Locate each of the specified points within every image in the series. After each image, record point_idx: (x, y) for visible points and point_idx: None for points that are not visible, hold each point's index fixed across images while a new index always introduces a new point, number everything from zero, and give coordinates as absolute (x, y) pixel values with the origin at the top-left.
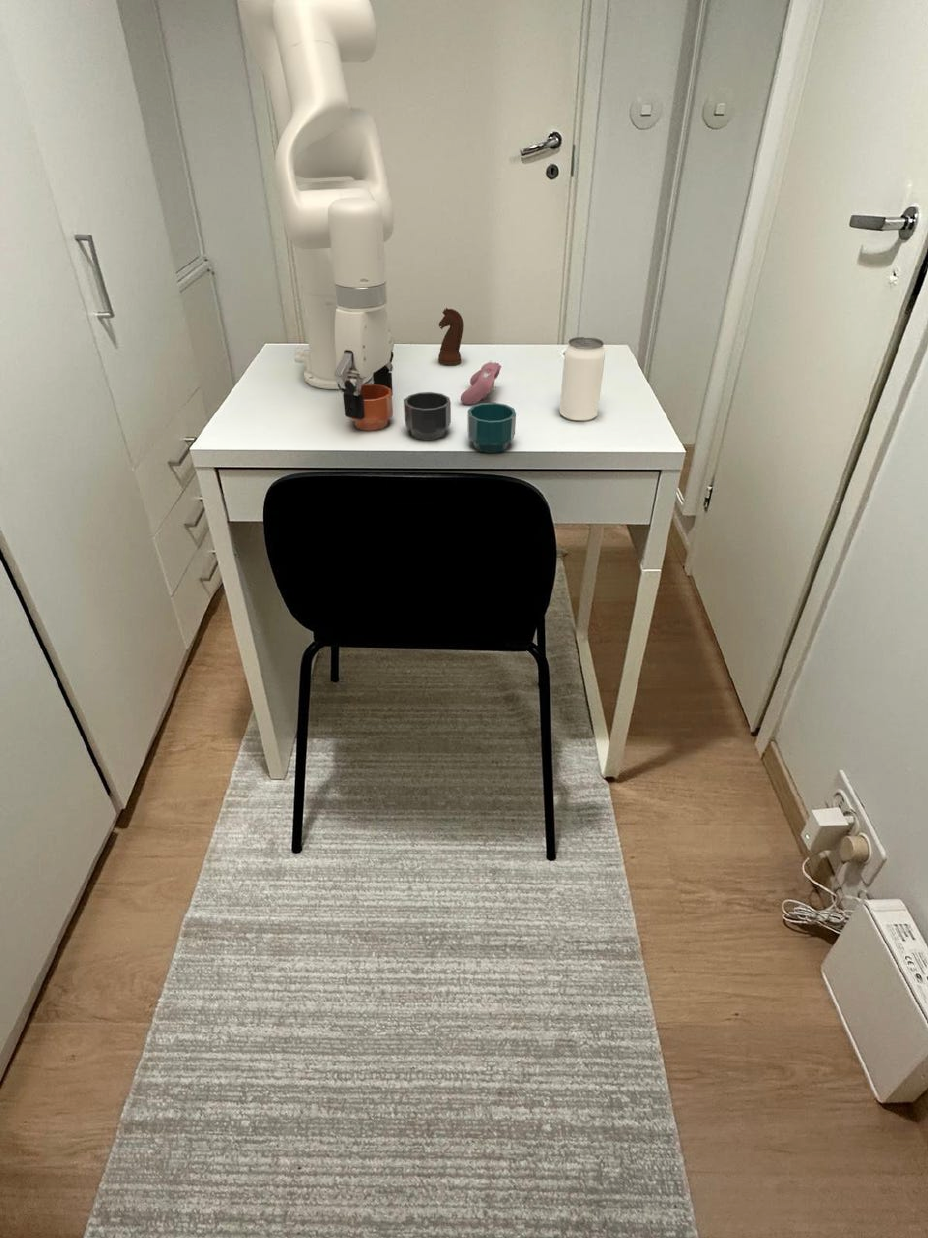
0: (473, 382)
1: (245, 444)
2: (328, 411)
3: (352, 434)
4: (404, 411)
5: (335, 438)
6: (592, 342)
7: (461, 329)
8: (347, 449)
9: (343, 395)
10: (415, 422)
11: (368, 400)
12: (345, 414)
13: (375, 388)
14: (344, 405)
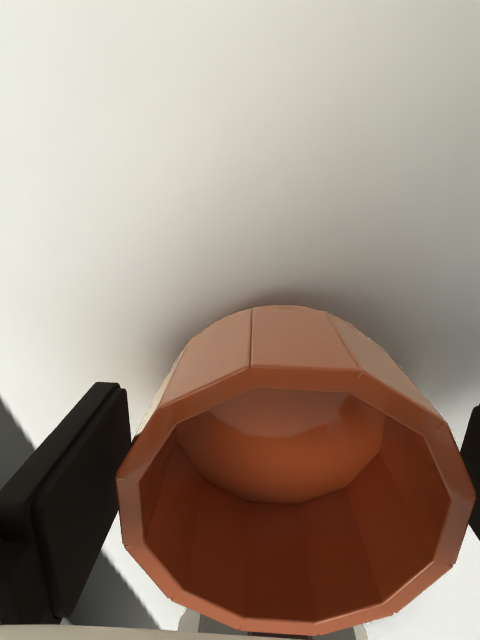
0: None
1: None
2: (361, 87)
3: (140, 359)
4: (233, 632)
5: (67, 309)
6: None
7: None
8: (10, 401)
9: (14, 476)
10: None
11: (143, 568)
12: (93, 385)
13: (430, 490)
14: (64, 419)
